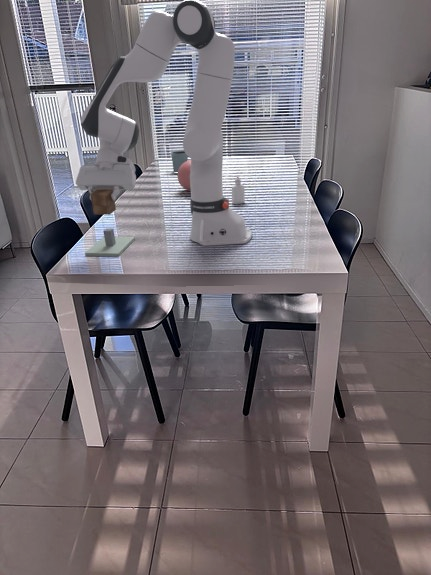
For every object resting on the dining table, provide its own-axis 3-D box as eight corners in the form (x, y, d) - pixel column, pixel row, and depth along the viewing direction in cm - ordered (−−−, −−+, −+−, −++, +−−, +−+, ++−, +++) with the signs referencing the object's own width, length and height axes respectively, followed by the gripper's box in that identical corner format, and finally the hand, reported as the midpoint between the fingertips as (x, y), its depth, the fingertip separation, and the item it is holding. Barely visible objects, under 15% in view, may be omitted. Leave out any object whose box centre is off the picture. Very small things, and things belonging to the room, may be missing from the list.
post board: (135, 239, 157) (132, 222, 154) (119, 256, 143) (116, 237, 140) (104, 239, 159) (101, 222, 156) (85, 255, 145) (81, 237, 142)
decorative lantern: (179, 198, 206) (176, 165, 200) (178, 188, 224) (175, 158, 217) (211, 196, 207) (209, 163, 201) (207, 186, 225) (206, 156, 218)
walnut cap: (115, 209, 147) (112, 189, 144) (109, 214, 142) (106, 193, 139) (100, 209, 148) (97, 189, 145) (93, 214, 143) (90, 193, 140)
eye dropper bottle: (232, 201, 196) (231, 175, 191) (244, 201, 196) (244, 175, 190) (231, 204, 192) (231, 177, 187) (244, 204, 192) (243, 177, 186)
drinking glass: (174, 170, 267) (173, 150, 262) (190, 170, 266) (189, 150, 261) (171, 174, 258) (169, 153, 253) (187, 173, 257) (185, 153, 252)
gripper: (76, 159, 145) (68, 194, 141) (134, 158, 142) (127, 194, 138) (84, 169, 151) (77, 204, 147) (140, 169, 148) (134, 204, 144)
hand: (102, 199), depth 142 cm, fingers closed on walnut cap, 6 cm apart
